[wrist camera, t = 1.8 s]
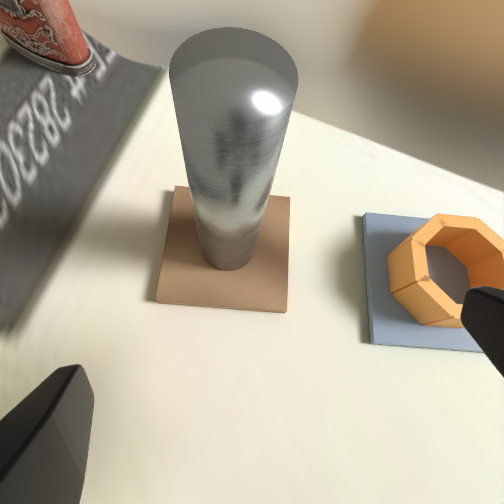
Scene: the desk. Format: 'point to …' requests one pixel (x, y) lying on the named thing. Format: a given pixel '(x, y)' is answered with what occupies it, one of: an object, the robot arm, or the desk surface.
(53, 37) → the lighter
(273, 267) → the board
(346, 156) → the desk surface
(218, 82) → the steel peg
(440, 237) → the socket plate
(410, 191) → the desk surface
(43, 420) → the robot arm
